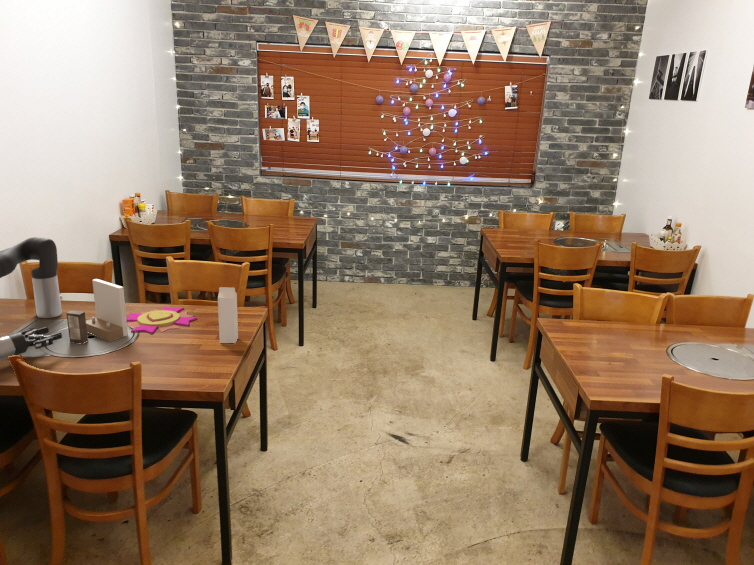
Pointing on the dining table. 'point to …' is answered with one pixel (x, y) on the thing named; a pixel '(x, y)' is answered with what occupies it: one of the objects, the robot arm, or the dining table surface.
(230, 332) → the milk
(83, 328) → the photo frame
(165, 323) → the wall ornament
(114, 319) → the wall panel
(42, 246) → the robot arm
